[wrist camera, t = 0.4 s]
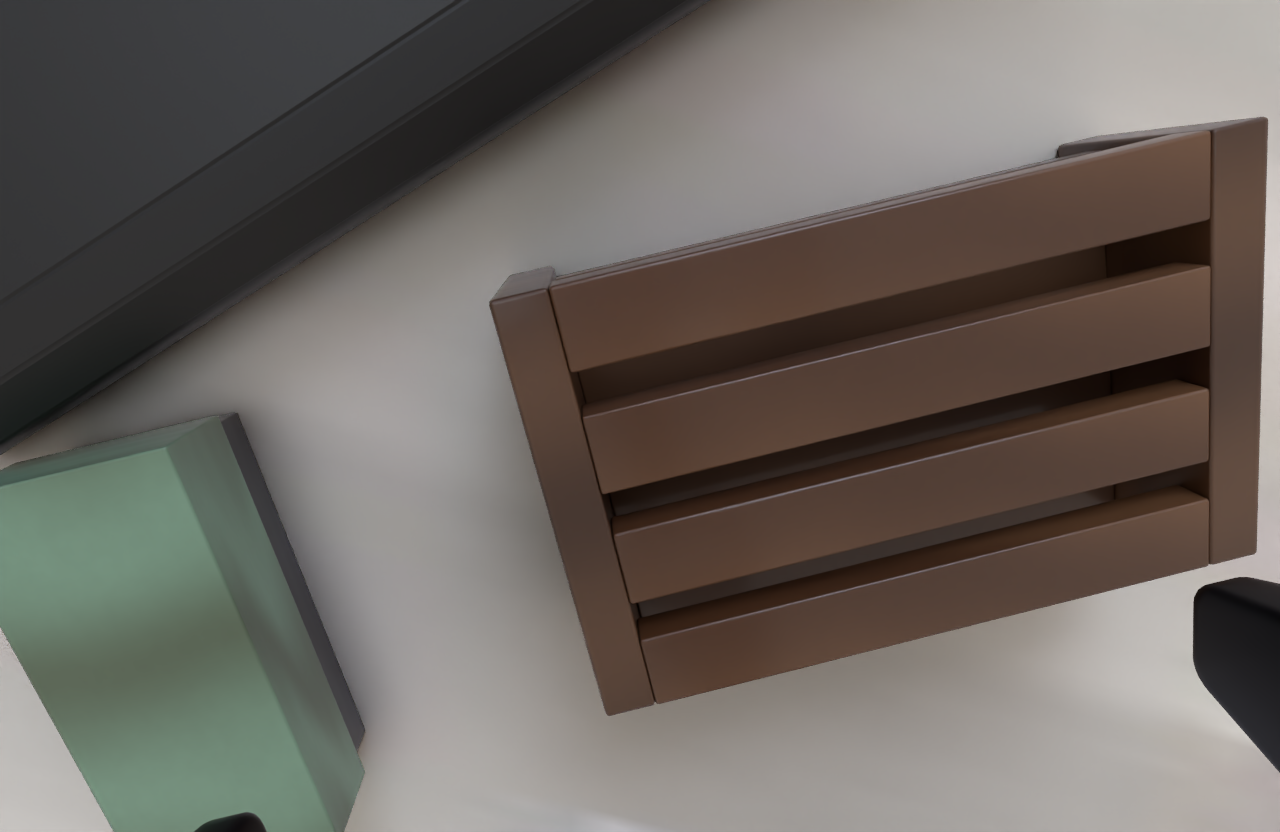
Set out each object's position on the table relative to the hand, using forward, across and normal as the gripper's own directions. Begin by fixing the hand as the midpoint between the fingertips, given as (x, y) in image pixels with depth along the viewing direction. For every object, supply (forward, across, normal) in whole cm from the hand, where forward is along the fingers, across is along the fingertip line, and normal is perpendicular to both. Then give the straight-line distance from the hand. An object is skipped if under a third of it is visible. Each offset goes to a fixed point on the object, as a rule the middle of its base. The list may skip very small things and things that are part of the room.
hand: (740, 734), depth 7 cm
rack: (+14, -6, +1) cm, 15 cm away
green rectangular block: (+14, +12, +4) cm, 19 cm away
